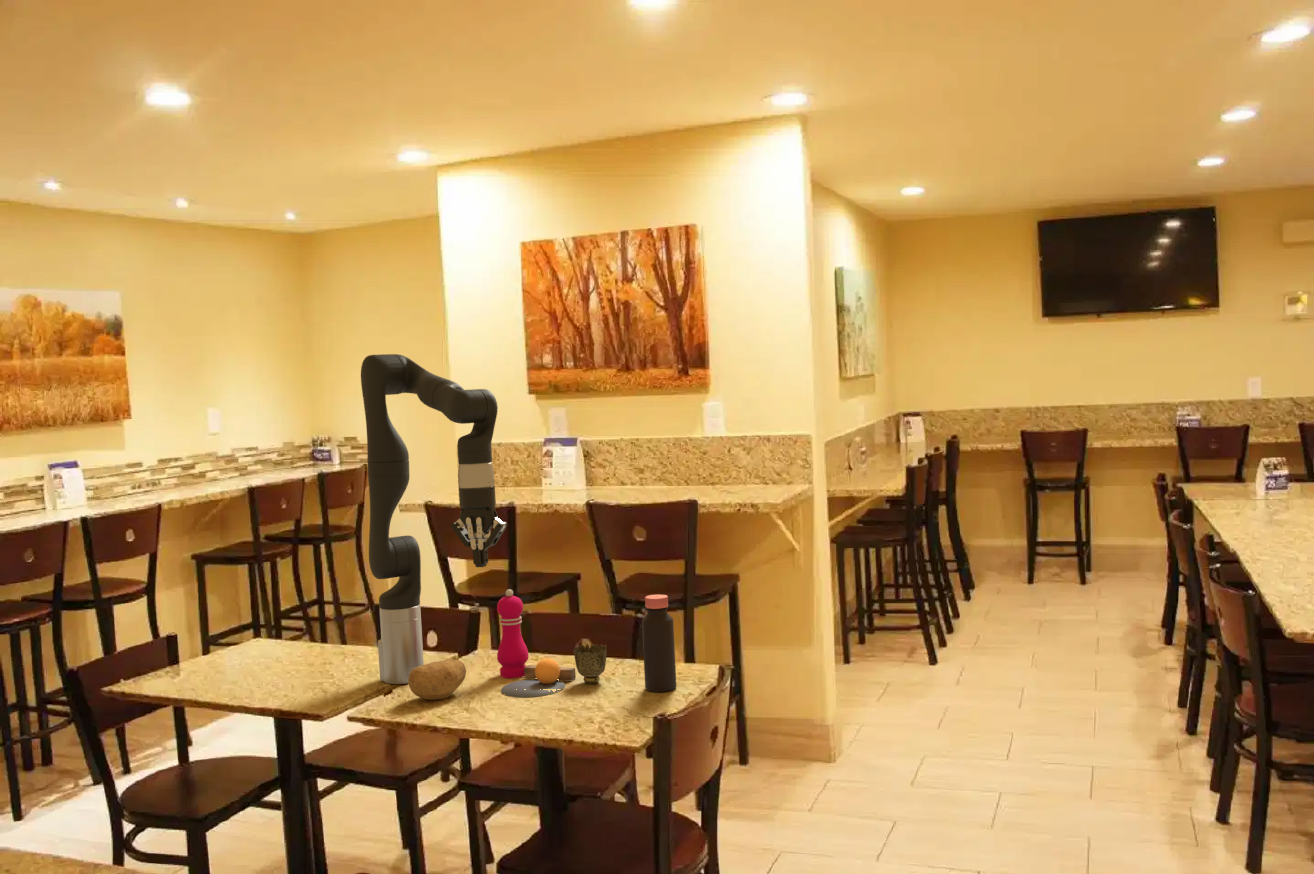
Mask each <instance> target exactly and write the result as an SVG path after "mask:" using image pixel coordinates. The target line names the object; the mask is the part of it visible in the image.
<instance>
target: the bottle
mask: <svg viewBox="0 0 1314 874" xmlns="http://www.w3.org/2000/svg"><path fill="white" fill-rule="evenodd" d="M644 606H645V610H646V612H647V613H646V615H645V616H644V617H643V618H642V621H641V631H642V650H643V668H644V672H643V673H644V688H645V689H646V691H647V692H650V691H651V693H667V691H668V692H672V691H674V690H675V689H676V688H677V673H676V672H677V671H676V670H677V669H676V650H675V649H676V647H675V629H674V628H675V627H674V626H675V624H674V618H673V617H672V616H671V615H670V614H669V613H668V609H669V596H668V595H667V594H658V593H657V594H649V595H646V596H644ZM671 690H672V691H671Z"/></svg>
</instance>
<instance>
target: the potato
mask: <svg viewBox="0 0 1314 874" xmlns="http://www.w3.org/2000/svg"><path fill="white" fill-rule="evenodd" d="M466 674H467V669H466V666H465V663H464V662H463V661H461V660H459V659H453V658H450V659H449V658H448V659H444V660H436V661H433V662H429V663H426V664H424V665H422V666H419V667H416V668H414V669H413V670H412V671H411V672H410V675H409V679H408V683H407V684H408V687H409V689H410V692H411V693H413V695H415V696H416V697H418V698H421V699H425V700H434V701H435V700H443V699H446V698H448V697H450V696H451V695H453V693H454V692H456V691H457V690H458V688H459V687H460V686H461V684H462V683H463V682H464V681H465V679H466Z"/></svg>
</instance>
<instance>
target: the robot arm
mask: <svg viewBox="0 0 1314 874" xmlns="http://www.w3.org/2000/svg"><path fill="white" fill-rule="evenodd" d="M360 368H361V369H360V384H361V392H362V400H363V407H364V414H365V417H364V418H365V425H366V427H365V428H366V444H367V445H366V447H367V449H366V451H367V457H366V459H367V477H368V480H367V481H368V491H369V492H368V493H369V532H368V533H369V534H368V535H369V536H368V561H369V569H370V571H371V574H372V576H373V577H374V578H376V579H377V580H385V579H393V578H398V580H397V582H396V583H395V584H394V585H393V586H391V587H390V588H389V589H387V590H386V591H385V592H383V593H381V594H380V595H379V598H378V607H379V622H380V624H379V625H380V636H381V637H380V639H379V640H377V650H378V651H377V653H378V654H377V655H378V669H379V681H380V682H384V683H386V684H389V685H390V684H393V685H401V684H402V685H403V684H404V685H405V684H408V679H409V675H410V672H411V671H412V670H413V669H414V668H416V667H419V666H422V665H425V664H424V663H425V662H424V649H423V648H424V647H423V646H424V643H423V629H422V615H421V613H422V611H421V593H422V582H421V578H422V574H421V571H422V570H421V569H422V568H421V565H422V564H421V563H422V562H421V560H422V559H421V558H422V557H421V550H420V545H419V543H418V541H417V539H416V538H415V537H414V536H411V535H400V536H392V537H390V528H391V527H390V526H391V522H392V519H393V515H394V512H395V511H396V508H397V506H398V505H399V503H400V501H401V499H402V498H403V495H405V494H404V493H406V490H407V487H408V485H409V482H410V457H409V451H408V447H407V445H406V444H405V442H404V440H403V438H402V437H401V435H400V434H399V432H398V431H397V429H396V428H395V426H394V425H393V423H392V421H391V419H390V416H389V413H388V407H387V399H386V398H387V397H386V396H390V395H391V396H393V395H400V394H412V395H416V396H417V397H418V399H419V401H420V403H422V404H423V405H425V406H426V407H429V408H431V409H434V410H436V411H438V412H441V413H442V414H443V416H444V417H446V418H447V419H448V420H449V421H450V422H452V423H457V424H462V425H464V424H465V425H466V424H473V425H472V429H471V431H470V432H469V433H467V434H465V435H463V436H461V437H459V438H458V440H457V443H456V444H457V462H458V463H457V464H458V469H457V482H458V483H457V484H458V500H459V501H458V502H459V507H460V513H459V518H458V519H457V520H456V521H455V522H452V523H450V528H451V529H452V531H453V532H454V534H455V535H456V536H457V538H458V539H459V540H460V542H461V543H462V545H463V546H464V547H469V548H470V549H472V560H473V561H472V562H473V564H474V565H475V568H486V567H487V565H488V564H489V548H490V547H493V546H496V545H497V543H498V541H499V540H500V538H501V536H502V535H503V534H504V532H505V530H506V528H507V527H508V523H507V521H502V520H501V519H500V518H498V512H497V511H496V504H497V503H496V498H497V497H496V481H495V480H496V479H495V471H494V466H493V455H492V454H493V451H492V441H493V437H494V431H495V428H496V427H495V426H496V422H497V417H498V408H499V407H498V401H497V398H496V397H495V394H494V393H493V392H492V391H491V390H490V389H486V388H478V389H474V388H472V389H464V388H463V386H461V385H460V384H459V383H457V382H455V381H453V380H451V379H448V378H445V377H442V376H439V375H437V374H434V373H432V372H430V371H429V370H427V369H425V368H424V367H422V366H420V365H419V364H418V363H417V362H416V361H413V360H412V359H411V358H409V357H408V356H405V355H403V354H397V353H396V354H395V353H393V354H392V353H391V354H390V353H388V354H385V353H384V354H382V353H381V354H370V355H369V354H368V355H367V356H366V357H364V359H363V361H362V364H361V367H360ZM492 529H493V530H492ZM491 530H492V532H491Z"/></svg>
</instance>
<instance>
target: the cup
mask: <svg viewBox="0 0 1314 874" xmlns="http://www.w3.org/2000/svg"><path fill="white" fill-rule="evenodd" d="M607 649H608V648H607V644H605V645H603V643H602V644H601V645H599V644H598V643H596V644H594V643H592V644H591V645H589V644H588V643H587V644H586V645H585V646H584V645H583V644H579V645H578V646H575V647H574V648H572V650H573V655H574V662H575V668H576V670H577V672H578V673H579V675H580V676H582V677H583V678H582V679H583V682H584V683H585V684H587V685H595V684H598V683H599V682H600V679H601V677H600V675H602V674H603V673H604V672H605V669H606V664H607V651H608V650H607Z"/></svg>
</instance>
